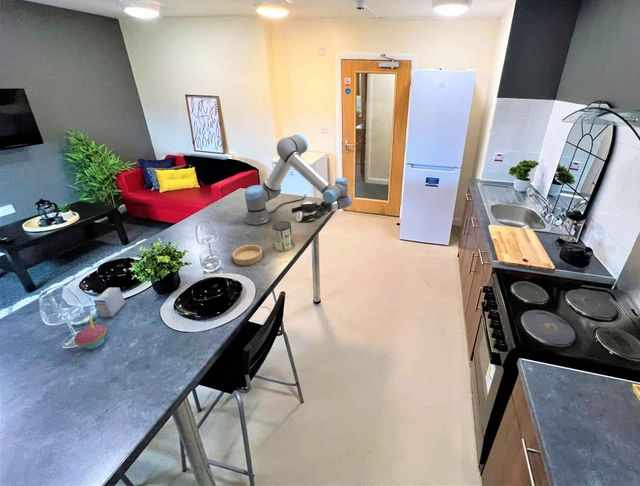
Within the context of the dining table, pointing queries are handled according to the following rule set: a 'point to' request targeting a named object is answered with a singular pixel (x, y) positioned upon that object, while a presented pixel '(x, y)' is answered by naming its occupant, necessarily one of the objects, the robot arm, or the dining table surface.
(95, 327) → the cupcake
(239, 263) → the round tan tray
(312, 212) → the spread jar
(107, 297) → the medicine box
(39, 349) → the dining table surface
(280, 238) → the coffee can
